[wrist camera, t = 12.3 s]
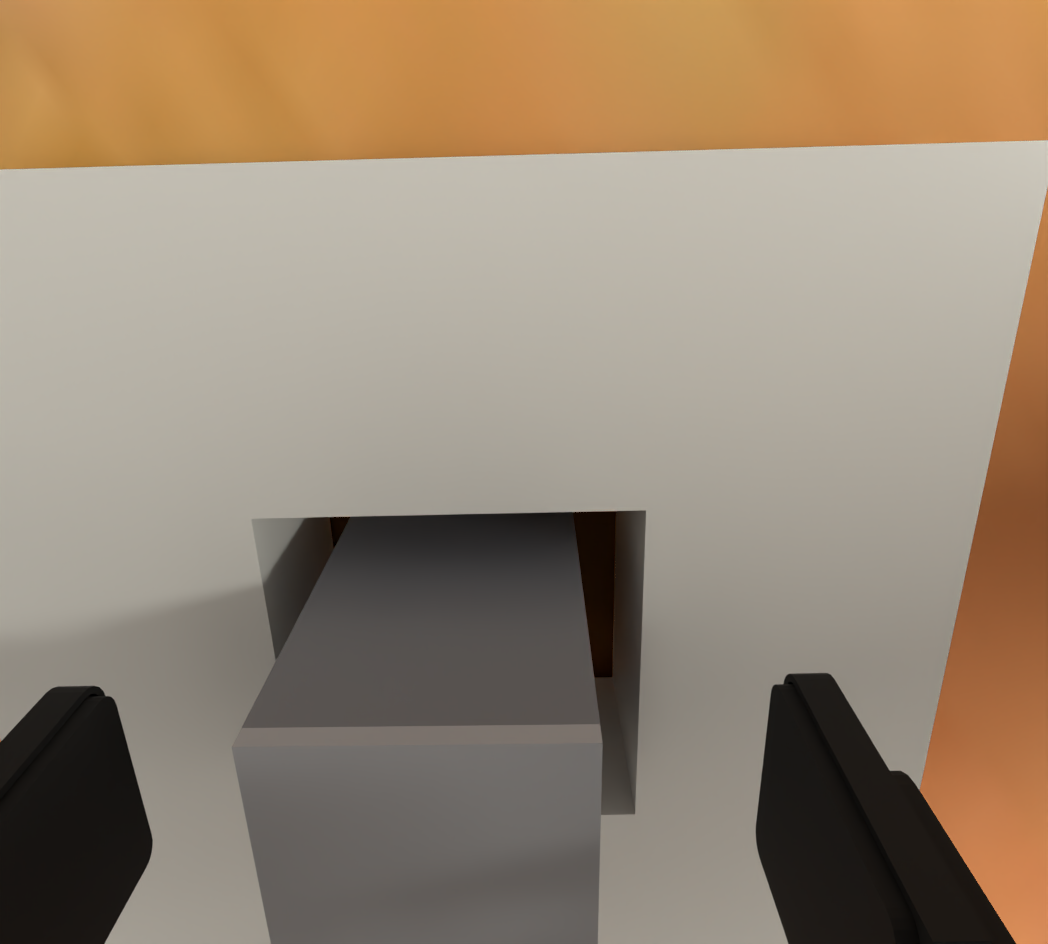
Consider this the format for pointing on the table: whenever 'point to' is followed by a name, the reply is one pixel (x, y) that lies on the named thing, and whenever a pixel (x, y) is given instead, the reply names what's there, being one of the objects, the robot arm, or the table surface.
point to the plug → (431, 741)
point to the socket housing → (507, 454)
